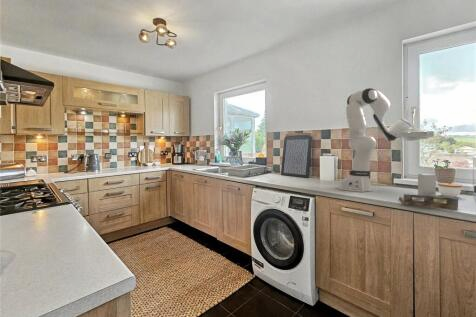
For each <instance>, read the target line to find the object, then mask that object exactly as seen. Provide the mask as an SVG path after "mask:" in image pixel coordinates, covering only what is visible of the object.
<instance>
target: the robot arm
mask: <svg viewBox="0 0 476 317" xmlns="http://www.w3.org/2000/svg"><path fill="white" fill-rule="evenodd" d="M365 106H369V107H370V108H371V110H372V111H373V114H372V116H373V119H374V122H375V123H376V125H377V127H378V128H379V130H380V132H381V134H382V136H383V138H384V139H385V140H386V141H388V142H392V141H395V140H396V139H398V138H402V139H403V140H405V141H408V142H409V141H410V142H411V141H412V142H413V141H419V140H427V139H429V138H433V137H434V136H435V130H429V129H425V128H423V129H422V128H415V127H414V125H413V123H412V122H410V121H409V120H408V119H405V118H399V119H397V120H396V121H395V122H393V123H392V124H391V125H390V126H388V127H387V126H386V124H385V122H384V118H385V117H386V114H387V113H388V112H389V111H390V108H391V102H390V100H389V99H388V98H387V97H386V96H385V94H383V93H382V92H381V91H379V90H378V89H374V88H370V87H369V88H365V89H362V90H358V91H356V92H355V93H352V94H350V95H349V96H348V97H347V100H346V106H345V113H346V121H347V124H348V128H349V141H348V147H349V149H351V150H352V151H355V154H354V157H353V158H352V170H350V169H349V170H348V173H349V174H348V175H347V176H346V177H345V178H342V180H341V182H340V185H337V189H338V190H342V191H349V192H350V191H351V192H357V193H358V192H359V193H363V192H365V193H366V192H372V191H373V190H372V186H371V185H372V184H371V177H372V176H371V159H372V154H373V151H374V150H375V149H376V147H377V143H378V142H377V140H376V139H375V138H374V137H373V136H369V135H366V129H367V126H368V125H367V121H366V117H365V113H364V109H363V107H365Z"/></svg>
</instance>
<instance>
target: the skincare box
mask: <svg viewBox="0 0 476 317" xmlns="http://www.w3.org/2000/svg"><path fill="white" fill-rule="evenodd" d="M436 176H437V175H436V174H431V173H417V195H423V196H436V197H437V184H436V183H437V180H436V179H437V177H436Z"/></svg>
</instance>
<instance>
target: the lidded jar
mask: <svg viewBox="0 0 476 317" xmlns="http://www.w3.org/2000/svg"><path fill="white" fill-rule="evenodd" d="M437 183H438V184H437V185H438V187H437V188H438V192H439V193H440V195H441V197H449V198H457V197H458V196H459V195H460V194H461V192H462V184H459V183H452V181H448V182H437Z"/></svg>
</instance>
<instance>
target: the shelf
mask: <svg viewBox="0 0 476 317" xmlns="http://www.w3.org/2000/svg"><path fill="white" fill-rule="evenodd" d="M398 199H399V200H400V202H402V204H403V205H405V206H407V205H408V206H416V207H417V206H418V207H426V206H429V207H428V208H437V207H440V209H447V208H448V209H449V210H450V209H451V210H459V198H458V197H455V198H452V197H444V196H437V195H436V196H423V195H418V194H409V193H408V194H407V193H404V194H403V196H399V197H398Z"/></svg>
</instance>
